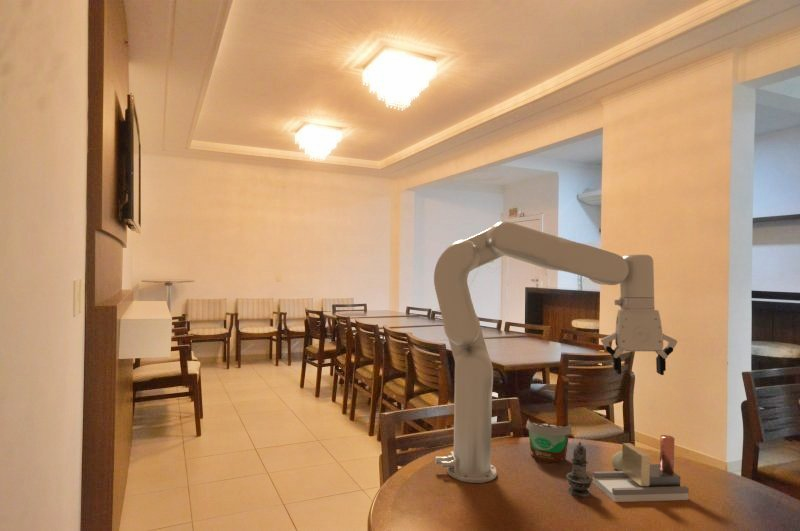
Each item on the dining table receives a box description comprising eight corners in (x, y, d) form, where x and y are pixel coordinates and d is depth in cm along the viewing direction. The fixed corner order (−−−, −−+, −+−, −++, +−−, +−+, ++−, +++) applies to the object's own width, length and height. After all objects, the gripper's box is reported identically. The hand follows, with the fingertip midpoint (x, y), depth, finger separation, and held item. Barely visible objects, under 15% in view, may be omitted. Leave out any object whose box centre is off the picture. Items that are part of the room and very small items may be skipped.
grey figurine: (591, 489, 117) (592, 439, 117) (593, 500, 111) (593, 447, 111) (566, 485, 119) (566, 436, 119) (565, 495, 113) (566, 444, 113)
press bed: (614, 501, 111) (614, 490, 111) (592, 482, 120) (593, 471, 120) (688, 499, 112) (688, 488, 112) (661, 480, 122) (661, 470, 122)
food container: (522, 460, 133) (523, 424, 133) (525, 453, 139) (526, 418, 139) (570, 468, 129) (570, 431, 129) (571, 460, 134) (571, 424, 134)
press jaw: (641, 491, 112) (641, 443, 112) (622, 476, 120) (622, 432, 120) (683, 490, 113) (684, 443, 113) (661, 475, 121) (662, 431, 121)
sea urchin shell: (660, 470, 124) (638, 448, 124) (638, 491, 124) (616, 469, 124) (643, 456, 133) (622, 435, 133) (622, 476, 133) (602, 455, 133)
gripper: (603, 305, 118) (605, 376, 118) (681, 305, 115) (683, 377, 115) (597, 303, 126) (598, 369, 125) (669, 303, 122) (671, 371, 122)
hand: (639, 373), depth 120 cm, fingers open, 9 cm apart
